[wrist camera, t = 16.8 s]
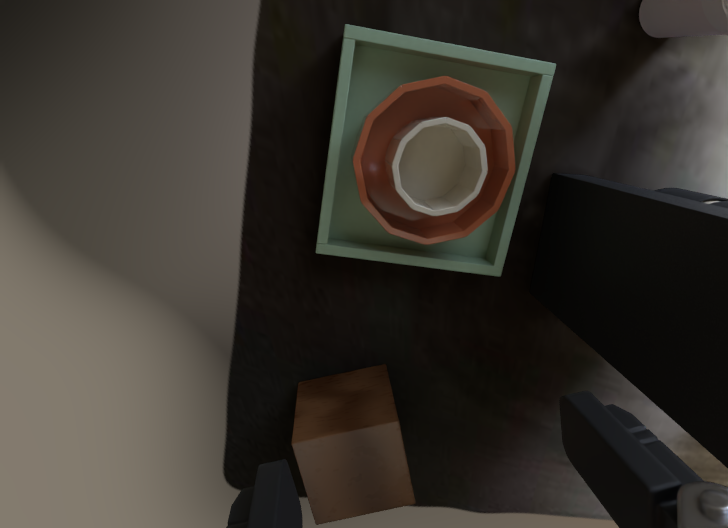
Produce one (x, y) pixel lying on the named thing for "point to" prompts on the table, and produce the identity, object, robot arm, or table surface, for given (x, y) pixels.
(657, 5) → the lidded coffee cup
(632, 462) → the robot arm
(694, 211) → the light fixture
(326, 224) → the tray
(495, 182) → the big bowl
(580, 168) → the table surface
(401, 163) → the small bowl
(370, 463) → the block
